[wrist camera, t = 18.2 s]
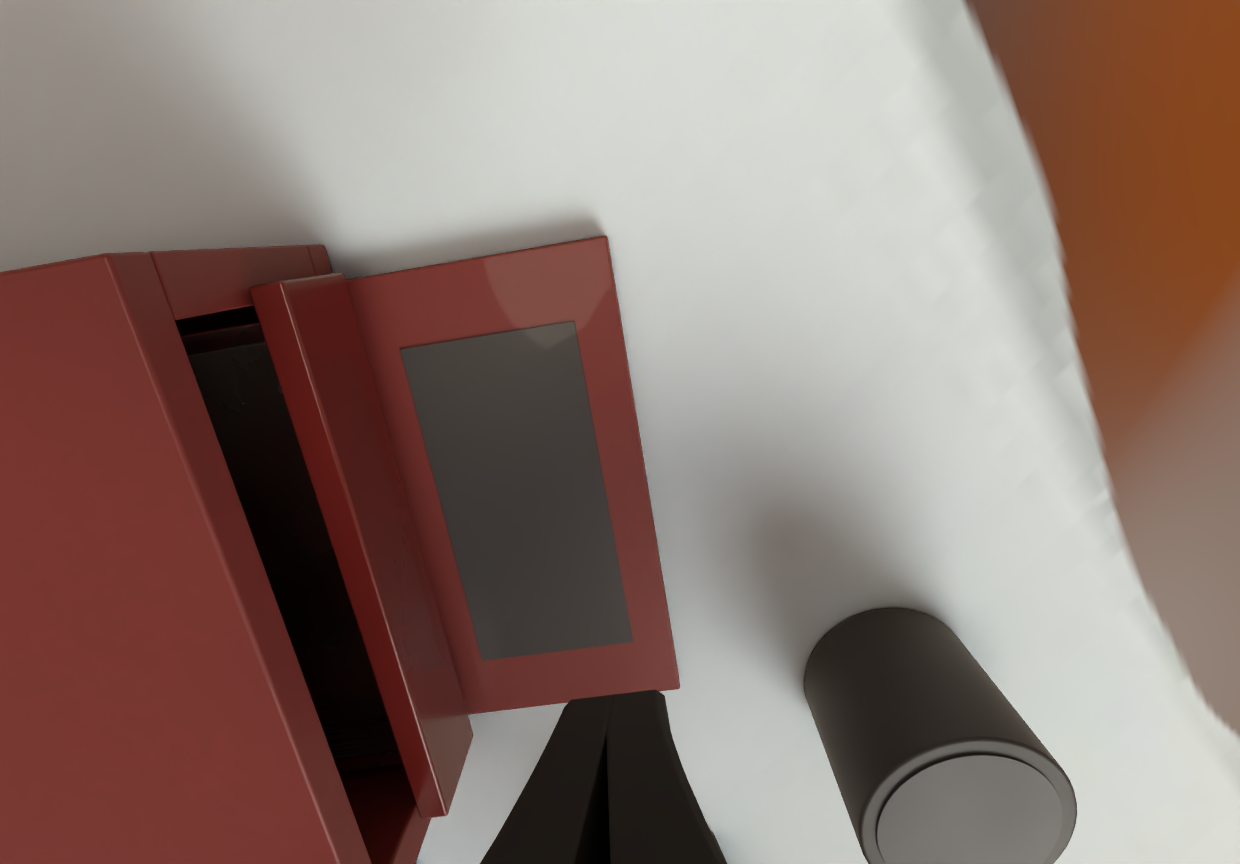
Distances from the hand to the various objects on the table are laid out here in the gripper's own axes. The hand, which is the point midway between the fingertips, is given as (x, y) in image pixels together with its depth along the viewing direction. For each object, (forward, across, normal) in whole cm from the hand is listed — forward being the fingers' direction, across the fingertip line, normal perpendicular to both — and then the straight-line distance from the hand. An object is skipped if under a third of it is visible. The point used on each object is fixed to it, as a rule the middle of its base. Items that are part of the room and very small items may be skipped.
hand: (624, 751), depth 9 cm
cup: (+10, -7, +8) cm, 15 cm away
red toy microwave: (+10, +10, 0) cm, 15 cm away
